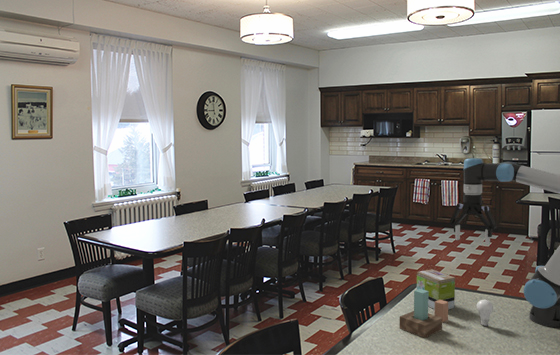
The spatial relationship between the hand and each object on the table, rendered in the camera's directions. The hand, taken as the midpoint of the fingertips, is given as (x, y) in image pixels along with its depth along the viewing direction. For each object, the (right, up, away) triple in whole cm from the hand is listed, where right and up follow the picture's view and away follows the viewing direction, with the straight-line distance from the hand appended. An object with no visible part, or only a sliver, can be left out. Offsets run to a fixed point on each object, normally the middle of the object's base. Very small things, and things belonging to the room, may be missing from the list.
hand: (472, 242), depth 202 cm
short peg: (-15, -33, -4) cm, 36 cm away
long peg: (-27, -34, -14) cm, 45 cm away
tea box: (-12, -32, +14) cm, 36 cm away
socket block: (-27, -34, -14) cm, 45 cm away
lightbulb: (0, -33, -11) cm, 35 cm away
